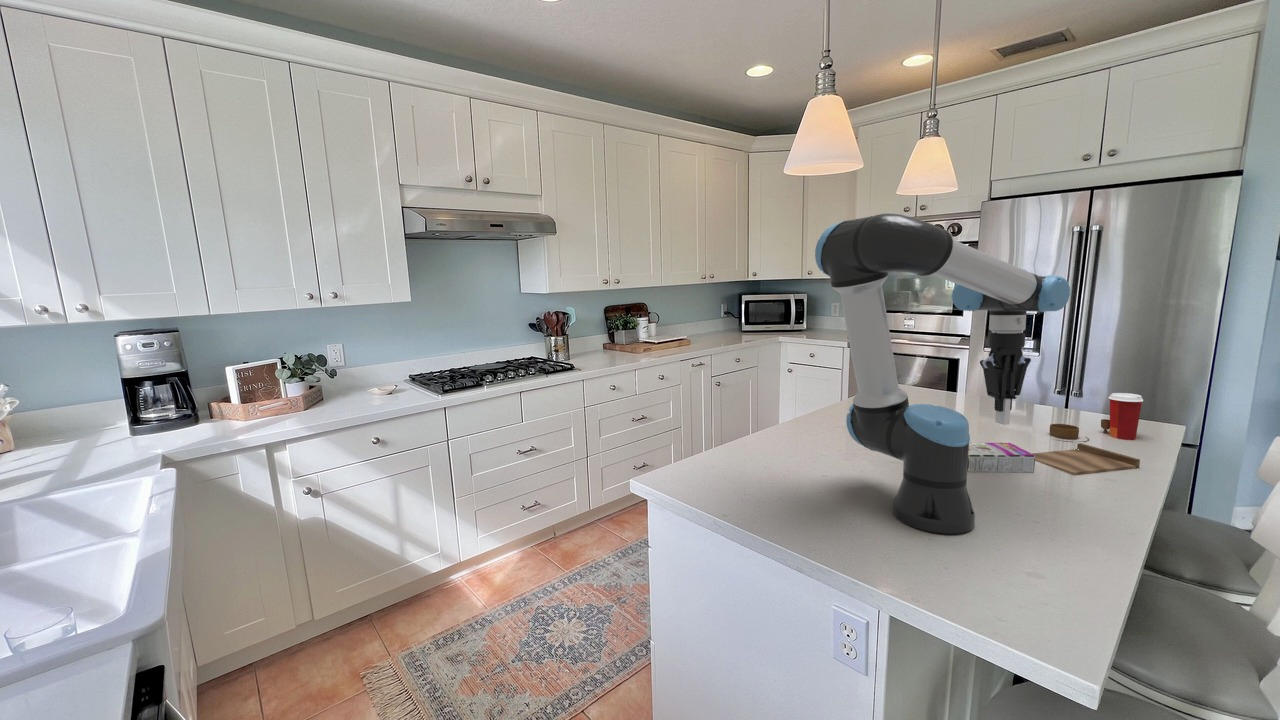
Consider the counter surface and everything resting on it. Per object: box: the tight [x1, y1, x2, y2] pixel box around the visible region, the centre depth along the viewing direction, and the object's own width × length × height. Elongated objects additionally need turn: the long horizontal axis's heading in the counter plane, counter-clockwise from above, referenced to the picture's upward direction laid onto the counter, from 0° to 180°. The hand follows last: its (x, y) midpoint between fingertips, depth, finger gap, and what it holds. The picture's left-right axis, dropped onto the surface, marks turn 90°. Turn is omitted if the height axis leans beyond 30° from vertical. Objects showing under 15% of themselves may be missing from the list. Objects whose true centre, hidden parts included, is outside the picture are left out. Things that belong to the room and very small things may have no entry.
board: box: [1031, 443, 1141, 476], centre depth 139 cm, size 20×15×2 cm
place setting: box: [1049, 418, 1110, 443], centre depth 157 cm, size 18×20×6 cm
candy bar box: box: [967, 442, 1036, 474], centre depth 138 cm, size 11×5×16 cm
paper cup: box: [1107, 392, 1145, 441], centre depth 156 cm, size 8×8×14 cm
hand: (1002, 423), depth 133 cm, fingers closed
